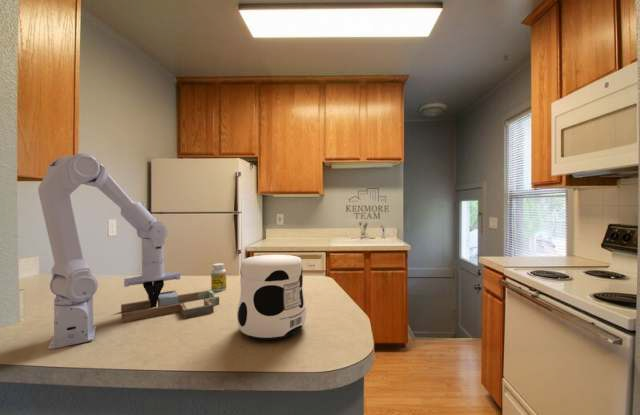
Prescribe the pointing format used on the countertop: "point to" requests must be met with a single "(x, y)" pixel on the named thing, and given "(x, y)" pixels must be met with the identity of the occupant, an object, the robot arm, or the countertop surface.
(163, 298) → the block
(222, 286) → the supplement bottle
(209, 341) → the countertop surface
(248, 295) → the milk container
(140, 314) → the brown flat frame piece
